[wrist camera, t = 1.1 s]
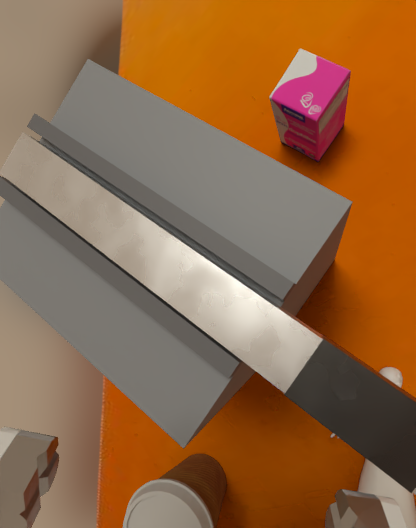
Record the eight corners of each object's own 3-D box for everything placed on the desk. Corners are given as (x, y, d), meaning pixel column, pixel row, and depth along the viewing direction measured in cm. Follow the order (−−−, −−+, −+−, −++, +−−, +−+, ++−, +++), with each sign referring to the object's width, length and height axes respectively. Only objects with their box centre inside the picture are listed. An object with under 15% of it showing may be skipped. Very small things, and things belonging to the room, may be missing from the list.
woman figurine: (324, 540, 36) (336, 360, 39) (324, 518, 41) (334, 357, 43) (457, 579, 33) (460, 378, 35) (441, 550, 37) (445, 372, 40)
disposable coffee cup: (251, 509, 43) (226, 584, 31) (183, 529, 45) (137, 605, 34) (221, 430, 45) (187, 473, 34) (157, 452, 47) (105, 500, 36)
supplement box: (279, 144, 46) (266, 95, 36) (305, 104, 46) (300, 43, 35) (317, 165, 45) (316, 120, 34) (345, 124, 44) (353, 66, 33)
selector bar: (46, 145, 24) (22, 130, 22) (452, 423, 16) (471, 440, 14) (23, 183, 25) (-3, 172, 23) (410, 477, 16) (423, 502, 14)
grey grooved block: (205, 181, 49) (74, 44, 23) (334, 259, 43) (354, 194, 17) (139, 283, 50) (-53, 263, 24) (255, 373, 44) (163, 474, 18)
